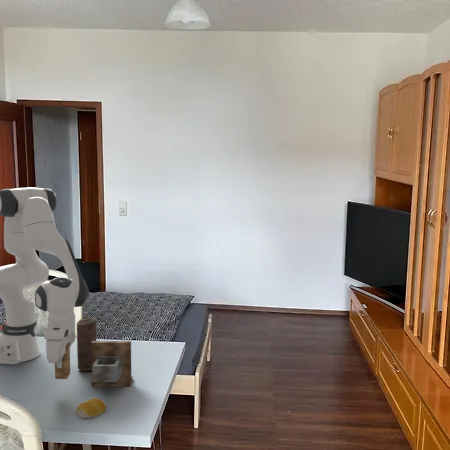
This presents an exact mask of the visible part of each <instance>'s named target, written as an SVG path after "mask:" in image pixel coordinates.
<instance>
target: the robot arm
mask: <svg viewBox="0 0 450 450" xmlns="http://www.w3.org/2000/svg"><path fill="white" fill-rule="evenodd" d="M56 208H57V196H56V193H55V192H54V190H52V189H50V188H46V187H42V188H40V187H19V188H4V189H1V190H0V216H2V217H4V221H3V222H4V223H3V247H4V250H5V251H6V253H8V254H10V255H13V256H14V257H15V263H11V264H7V265H1V266H0V300H1V301H2V303H3V305H4V309H5V311H4V312H5V319H6V320H5V321H4V323H3V324H2V325H1V326H0V331H1V332H0V364H2V365H12V366H13V365H17V364H21V363H23V362H28V361H31V360H34V359H36V358H38V357H39V356H40V355H41V353H42V352H41V349H40V346H39V343H38V342H39V341H38V337H37V336H38V335H37V334H38V325H37V324H38V323H37V320H36V307H37V308H38V309H40V310H41V311H43V312H47V313H48V317H47V326H46V327H47V328H46V329H45V332H44V336H43V337H44V340H46V343H45V351H46V360H47V361H48V363H49V364H50V363H51V364H55V363H57V368H62V367H63V362H62V358H63V356H64V354H65V353H66V345H67V344H68V342H70V347H71V346H72V345H73V343H75V340H76V314H75V308H79V307H80V308H81V307H83V306H84V305H85V304H86V303H87V301H88V299H89V297H90V290H89V287H88V285H87V282H86V280H85V279H84V276H83V275H82V272H81V270H80V267H79V264H78V261H77V258H76V257H75V254H74V251H73V247H72V246H71V245H70V242H69V240H68V239H67V238H65V237H63V236H62V235H61V234H60V233H59V231H58V229H57V226H56V222H55V218H54V211H55V210H56ZM36 251H38V252H42V253H45V254H50V255H52V256H55V257H57V258H58V259H59V260H60V261H61V263H62V266H63V268H64V270H65V273H66V276H67V277H54V278H52V279H51V280H49V282H48V283H46V282H47V281H48V279H49V276H50V269H49V266H48V265H47V264H46V263H45V262H44V261H43V260H42V259H40V257H39V256H38V254H37V252H36ZM37 286H38V287H37ZM34 287H37V288H36V289H35V291H34V301H33V300H32V299H30V298H29V297H26V296H24V290H25V289H26V290H27V289H29V288H30V289H31V288H34Z"/></svg>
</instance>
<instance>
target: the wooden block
mask: <svg viewBox="0 0 450 450" xmlns="http://www.w3.org/2000/svg"><path fill="white" fill-rule="evenodd" d="M62 362H63V367H62V368H57V363H54V379H55V380H67V379H68V378H69V377H70V375H71V346H70V342H68V344H67V345H66V353H65V354H64V356H63V358H62Z"/></svg>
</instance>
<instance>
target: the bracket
mask: <svg viewBox="0 0 450 450" xmlns="http://www.w3.org/2000/svg"><path fill="white" fill-rule="evenodd" d="M91 358H92V370H91V388H92V387H93V388H95V387H96V388H99V387H100V388H101V387H104V388H105V387H106V388H109V387H111V388H122V387H123V388H131V386H132V383H133V380H134V376H133V375H132V340H96V341H92V342H91Z"/></svg>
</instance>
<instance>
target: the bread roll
mask: <svg viewBox="0 0 450 450" xmlns="http://www.w3.org/2000/svg"><path fill="white" fill-rule="evenodd" d="M106 409H107V406H106V403H105V402H104V401H103V400H102V399H100V398H91V399H88V400H86V401H85V402H82V403H80V404H78V406H77V407H76V415H77V416H78V417H80V418H81V419H84V420H88V419H94V418H96V417H98V416H101V415H102V414H104V413H105V412H106Z"/></svg>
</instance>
